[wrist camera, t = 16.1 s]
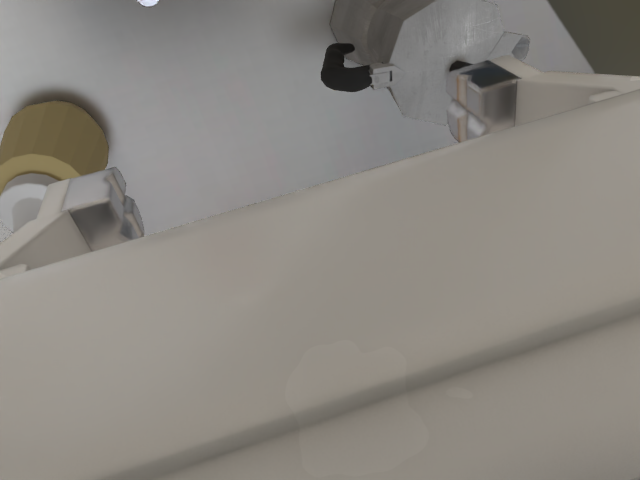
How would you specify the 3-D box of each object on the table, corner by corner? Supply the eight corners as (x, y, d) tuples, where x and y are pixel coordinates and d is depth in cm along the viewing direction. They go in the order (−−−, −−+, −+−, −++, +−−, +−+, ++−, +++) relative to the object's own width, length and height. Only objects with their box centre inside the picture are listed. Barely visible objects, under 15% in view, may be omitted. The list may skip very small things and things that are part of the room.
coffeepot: (445, -52, 47) (573, -18, 32) (441, 55, 52) (547, 124, 38) (277, -27, 44) (334, 22, 30) (291, 82, 50) (344, 167, 36)
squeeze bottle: (105, 86, 46) (82, 183, 32) (117, 169, 50) (102, 287, 36) (2, 87, 44) (-72, 190, 30) (24, 173, 48) (-30, 299, 34)
